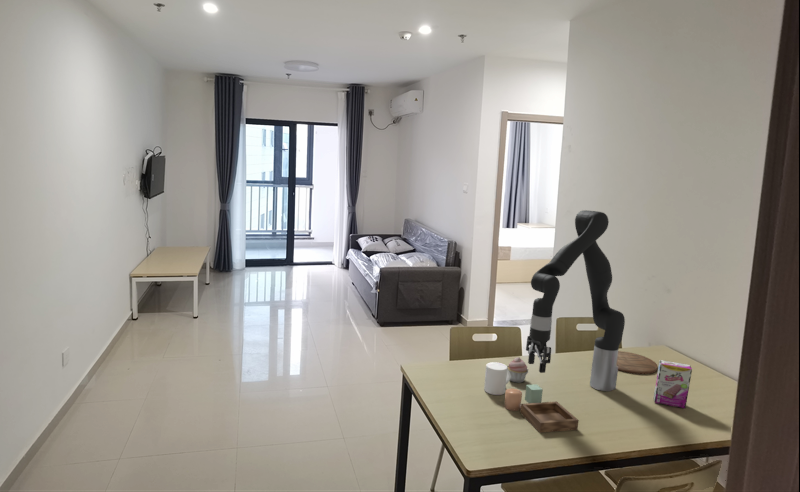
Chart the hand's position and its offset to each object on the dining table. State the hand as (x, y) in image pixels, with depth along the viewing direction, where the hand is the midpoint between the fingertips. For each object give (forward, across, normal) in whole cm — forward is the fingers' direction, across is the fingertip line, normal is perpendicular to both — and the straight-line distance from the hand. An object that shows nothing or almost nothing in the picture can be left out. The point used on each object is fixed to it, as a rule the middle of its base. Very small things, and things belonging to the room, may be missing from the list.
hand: (536, 367), depth 205 cm
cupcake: (+14, +20, -3) cm, 24 cm away
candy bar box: (+14, -9, -54) cm, 57 cm away
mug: (+14, +12, +9) cm, 20 cm away
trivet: (+14, +31, -65) cm, 73 cm away
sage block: (+14, 0, 0) cm, 14 cm away
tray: (+14, -15, +2) cm, 20 cm away
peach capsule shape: (+14, -3, +10) cm, 17 cm away
